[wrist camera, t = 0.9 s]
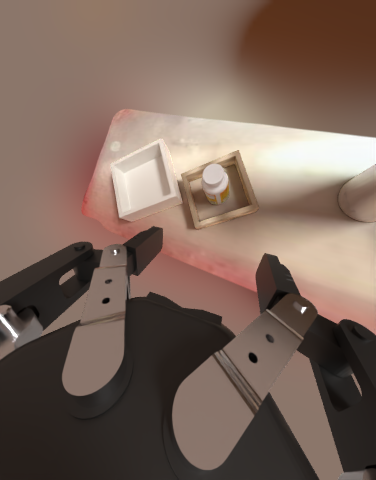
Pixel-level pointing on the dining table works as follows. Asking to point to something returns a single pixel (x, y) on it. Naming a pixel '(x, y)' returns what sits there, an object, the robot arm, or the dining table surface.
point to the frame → (237, 160)
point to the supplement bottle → (215, 184)
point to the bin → (145, 182)
